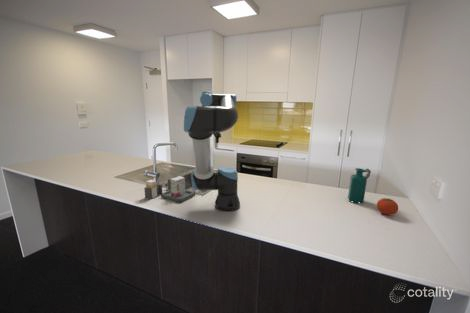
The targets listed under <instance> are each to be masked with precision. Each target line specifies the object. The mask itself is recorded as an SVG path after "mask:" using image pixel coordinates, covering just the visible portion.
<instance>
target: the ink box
mask: <svg viewBox="0 0 470 313" xmlns="http://www.w3.org/2000/svg"><path fill="white" fill-rule="evenodd" d="M170 179H171V189H170V190H171V196H174V197H179V196H181V195H184V194H185V190H186V178H185V177H184V176H181V175H178V176H176V177H172V178H170Z"/></svg>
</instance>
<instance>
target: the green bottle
mask: <svg viewBox="0 0 470 313" xmlns="http://www.w3.org/2000/svg"><path fill="white" fill-rule="evenodd" d="M354 170H355V171H356V172H355V174H351V175H350V178H349V187H348V193H347V200H348V199H349V200H350V201H353V202H360V203H363V204H364V202H365V196H366V189H367V182H368V179H369V177H370V175H371V173H372V171H371V170H370V169H369V168H365V169H364V168H360V167H359V168H358V167H357V168H355V169H354ZM363 173H366V174H365V176H364V174H363ZM349 200H348V201H349ZM350 201H349V202H350Z"/></svg>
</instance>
